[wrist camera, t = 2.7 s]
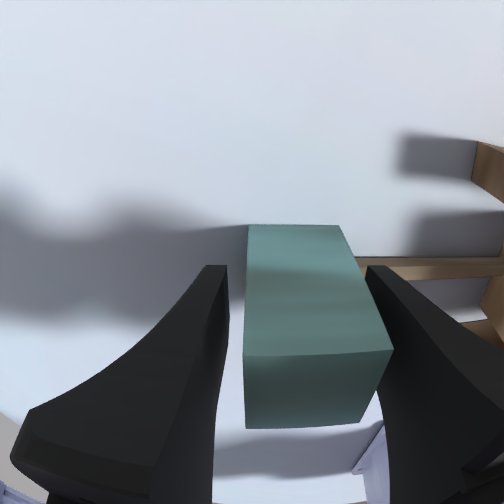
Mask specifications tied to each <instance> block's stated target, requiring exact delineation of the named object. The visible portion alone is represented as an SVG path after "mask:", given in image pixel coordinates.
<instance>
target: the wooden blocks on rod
mask: <svg viewBox="0 0 504 504" xmlns="http://www.w3.org/2000/svg"><path fill="white" fill-rule="evenodd" d="M367 265H386V266H387V267H389V268H390V269H391V270H393V271H394V272H395V273H397V274H398V275H399V276H400V277H402V278H403V279H404V280H432V279H456V278H477V277H491V279H490V281H489V284H488V286H487V289H486V291H485V293H484V296H483V298H482V300H481V302H480V304H479V306H480V308H481V309H482V311H483V312H484V314H485V315H486V316H487V318H488V319H489V321H490V322H491V324H492V325H493V327H494V328H495V330H496V331H497V333H498V334H499V336H500V337H501V339H502V341H503V342H504V244H503V247H502V250H501V253H500V256H499V257H446V258H354V256H353V253H352V251H351V249H350V247H349V245H348V243H347V241H346V239H345V237H344V235H343V233H342V231H341V229H340V227H339V226H336V225H249V229H248V249H247V270H246V291H245V312H244V334H243V380H244V404H245V426H246V429H281V428H305V427H321V426H333V425H343V424H353V423H359V422H360V420H361V419H362V417H363V415H364V413H365V411H366V409H367V407H368V405H369V403H370V401H371V399H372V397H373V395H374V393H375V391H376V389H377V386H378V384H379V382H380V380H381V378H382V376H383V373H384V371H385V369H386V367H387V364H388V362H389V360H390V357H391V355H392V353H393V350H394V348H393V345H392V343H391V340H390V338H389V335H388V333H387V331H386V328H385V326H384V323H383V321H382V318H381V316H380V314H379V311H378V309H377V307H376V304H375V302H374V300H373V297H372V295H371V293H370V291H369V288H368V286H367V284H366V282H365V274H366V270H367Z"/></svg>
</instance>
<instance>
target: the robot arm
mask: <svg viewBox="0 0 504 504" xmlns="http://www.w3.org/2000/svg"><path fill="white" fill-rule="evenodd" d="M365 282H366V284H367V286H368V288H369V291H370V293H371V295H372V297H373V300H374V302H375V304H376V307H377V309H378V311H379V314H380V316H381V318H382V321H383V323H384V326H385V328H386V331H387V333H388V335H389V338H390V340H391V343H392V345H393V348H394V350H393V353H392V355H391V357H390V360H389V362H388V364H387V367H386V369H385V371H384V373H383V376H382V378H381V380H380V382H379V384H378V386H377V389H376V391H377V394H378V397H379V401H380V405H381V409H382V415H383V421H384V426H383V427H382V428H381V430H380V431H379V433H378V434H377V436H376V437H375V439H374V440H373V442H372V443H371V445H370V446H369V447H368V449H367V450H366V452H365V453H364V455H363V456H362V457H361V459H360V460H359V461H358V463H357V464H356V465H355V467H354V468H353V469H352V474H353V475H358V474H363V479H364V486H365V492H366V498H367V504H504V350H502V349H500V348H498V347H496V346H494V345H493V344H491V343H489V342H487V341H486V340H484V339H482V338H481V337H479V336H478V335H476V334H475V333H473V332H472V331H470V330H469V329H467V328H466V327H464V326H463V325H461V324H460V323H458V322H457V321H456V320H454V319H453V318H452V317H450V316H449V315H448V314H446V313H445V312H444V311H442V310H441V309H440V308H439V307H437V306H436V305H435V304H433V303H432V302H431V301H430V300H428V299H427V298H426V297H425V296H424V295H422V294H421V293H420V292H419V291H418V290H416V289H415V288H414V287H413V286H411V285H410V284H409V283H408V282H407V281H405V280H404V279H403V278H402V277H400V276H399V275H398V274H397V273H395V272H394V271H393V270H391V269H390V268H389V267H387V266H386V265H367V270H366V274H365ZM229 321H230V313H229V297H228V280H227V265H206V266H205V267H204V268H203V269H202V271H201V272H200V273H199V275H198V276H197V278H196V279H195V280H194V282H193V283H192V284H191V285H190V287H189V288H188V289H187V291H186V292H185V293H184V294H183V295H182V297H181V298H180V299H179V300H178V301H177V303H176V304H175V305H174V306H173V307H172V309H171V310H170V311H169V312H168V313H167V314H166V315H165V316H164V317H163V318H162V319H161V320H160V321H159V323H158V324H157V325H156V326H155V327H154V328H153V329H152V330H151V331H150V332H149V333H148V334H147V335H145V336H144V337H143V338H142V339H141V340H140V341H139V342H138V343H137V344H136V345H134V346H133V347H132V348H131V349H130V350H129V351H127V352H126V353H125V354H123V355H122V356H121V357H120V358H118V359H117V360H115V361H114V362H113V363H111V364H110V365H109V366H107V367H106V368H105V369H103V370H102V371H100V372H99V373H97V374H96V375H94V376H93V377H91V378H90V379H88V380H87V381H85V382H83V383H81V384H80V385H78V386H76V387H75V388H73V389H71V390H69V391H68V392H66V393H64V394H62V395H60V396H58V397H56V398H54V399H52V400H50V401H48V402H45V403H43V404H41V405H39V406H37V407H35V408H33V409H30V410H29V412H28V414H27V416H26V418H25V420H24V422H23V424H22V427H21V429H20V432H19V434H18V436H17V439H16V441H15V444H14V446H13V448H12V451H11V454H10V460H11V462H12V464H13V465H14V466H15V467H16V468H17V469H18V470H19V471H20V472H21V473H23V474H24V475H25V476H27V477H28V478H29V479H31V480H32V481H34V482H35V483H36V484H38V485H39V486H41V487H42V488H44V489H45V490H47V491H48V492H49V495H48V499H47V502H46V504H212V478H213V455H214V437H215V421H216V411H217V404H218V398H219V393H220V387H221V382H222V376H223V370H224V365H225V359H226V354H227V348H228V338H229ZM0 504H45V503H43V502H41V501H38V500H36V499H34V498H32V497H29V496H27V495H25V494H23V493H21V492H19V491H17V490H15V489H13V488H11V487H9V486H7V485H5V484H4V482H3V481H1V480H0Z"/></svg>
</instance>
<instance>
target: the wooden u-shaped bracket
mask: <svg viewBox="0 0 504 504" xmlns="http://www.w3.org/2000/svg"><path fill="white" fill-rule="evenodd" d="M471 181H472V182H474V183H475V184H477V185H478V186H480V187H481V188H483V189H484V190H486V191H487V192H488V193H490V194H491V195H493V196H494V197H496V198H497V199H498V200H500V201H501V202H502V203H504V148H503V147H499V146H495V145H491V144H487V143H483V142H479V141H478V145H477V152H476V158H475V163H474V169H473V174H472V179H471ZM460 324H461V325H463V326H464V327H466V328H467V329H469V330H470V331H472V332H473V333H475V334H476V335H478V336H479V337H481V338H482V339H484V340H486V341H487V342H489V343H491V344H493V345H494V346H496V347H498V348H500V349H502V350H504V342H503V341H502V339H501V337H500V336H499V334H498V333H497V331H496V330H495V328H494V327H493V325H492V324H491V322H490V321H489V319H488V320H481V321H474V322H467V323H460Z"/></svg>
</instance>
